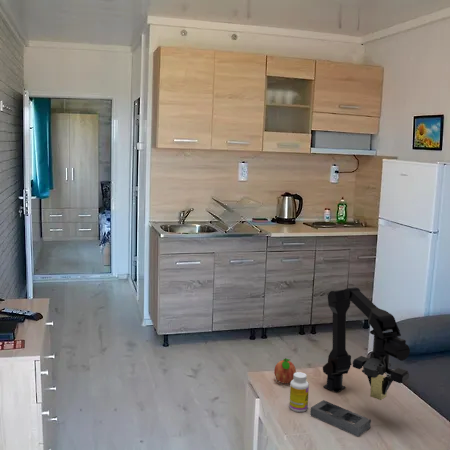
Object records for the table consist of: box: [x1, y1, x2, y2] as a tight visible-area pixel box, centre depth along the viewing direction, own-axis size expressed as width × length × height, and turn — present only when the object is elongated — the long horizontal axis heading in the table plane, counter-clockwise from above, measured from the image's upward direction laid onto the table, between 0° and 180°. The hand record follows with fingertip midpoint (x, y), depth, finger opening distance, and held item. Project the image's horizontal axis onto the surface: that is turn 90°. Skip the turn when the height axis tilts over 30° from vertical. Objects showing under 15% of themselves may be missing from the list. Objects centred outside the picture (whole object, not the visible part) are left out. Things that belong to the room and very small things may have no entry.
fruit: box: [273, 357, 297, 384], centre depth 212 cm, size 9×10×10 cm
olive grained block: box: [370, 375, 388, 401], centre depth 184 cm, size 4×4×7 cm
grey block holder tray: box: [309, 399, 372, 437], centre depth 183 cm, size 8×19×3 cm, turn 46°
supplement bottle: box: [288, 371, 310, 413], centre depth 190 cm, size 7×7×13 cm
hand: (378, 392), depth 185 cm, fingers closed on olive grained block, 4 cm apart
